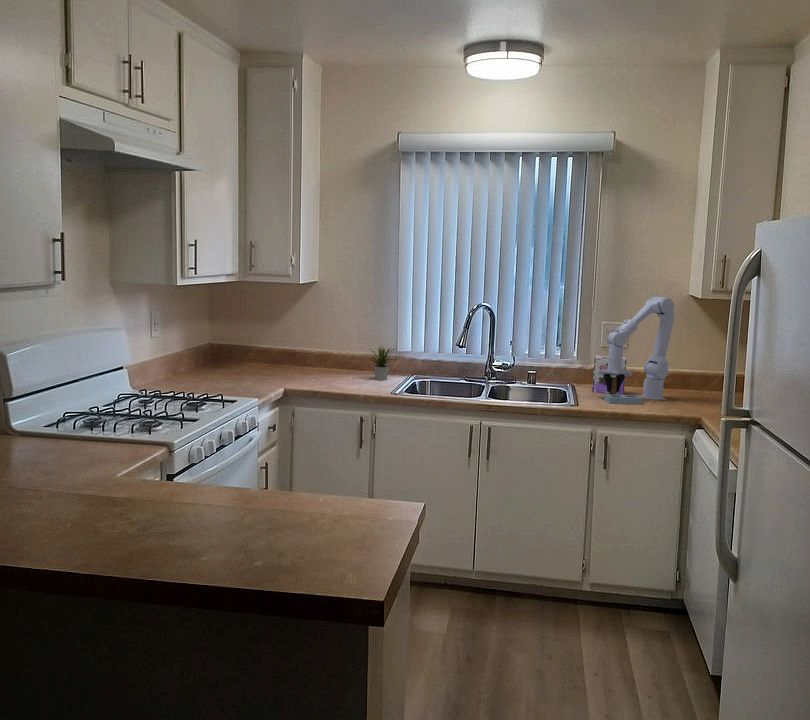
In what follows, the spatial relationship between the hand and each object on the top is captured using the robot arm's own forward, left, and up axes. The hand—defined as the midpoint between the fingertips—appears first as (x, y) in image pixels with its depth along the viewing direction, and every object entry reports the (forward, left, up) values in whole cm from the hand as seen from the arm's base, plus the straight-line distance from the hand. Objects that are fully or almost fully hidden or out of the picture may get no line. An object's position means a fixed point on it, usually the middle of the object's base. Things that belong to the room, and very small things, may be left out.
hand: (612, 391), depth 343 cm
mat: (0, 0, -3) cm, 3 cm away
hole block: (+8, +2, -3) cm, 9 cm away
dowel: (0, 0, -3) cm, 3 cm away
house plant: (-37, -96, -3) cm, 103 cm away
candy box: (-15, +3, -4) cm, 16 cm away
